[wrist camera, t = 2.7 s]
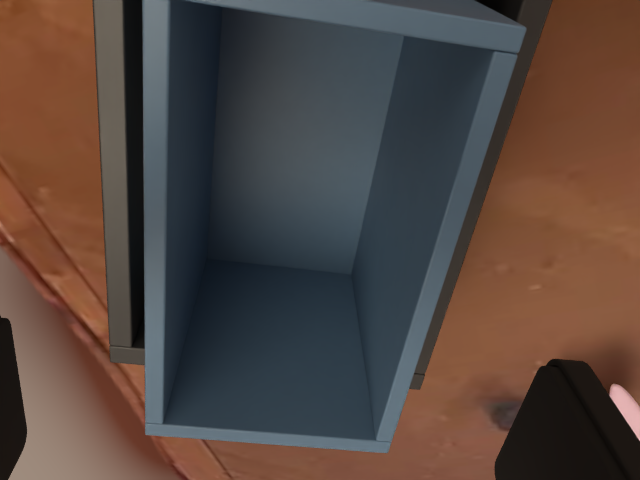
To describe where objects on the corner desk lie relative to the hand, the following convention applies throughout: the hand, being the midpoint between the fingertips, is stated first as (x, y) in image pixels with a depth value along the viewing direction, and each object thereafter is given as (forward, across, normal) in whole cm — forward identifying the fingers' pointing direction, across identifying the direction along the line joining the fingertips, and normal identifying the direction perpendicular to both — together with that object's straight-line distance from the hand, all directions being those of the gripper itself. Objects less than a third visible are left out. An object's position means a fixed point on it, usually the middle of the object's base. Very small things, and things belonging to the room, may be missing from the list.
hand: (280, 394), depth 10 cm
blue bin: (+12, 0, 0) cm, 13 cm away
